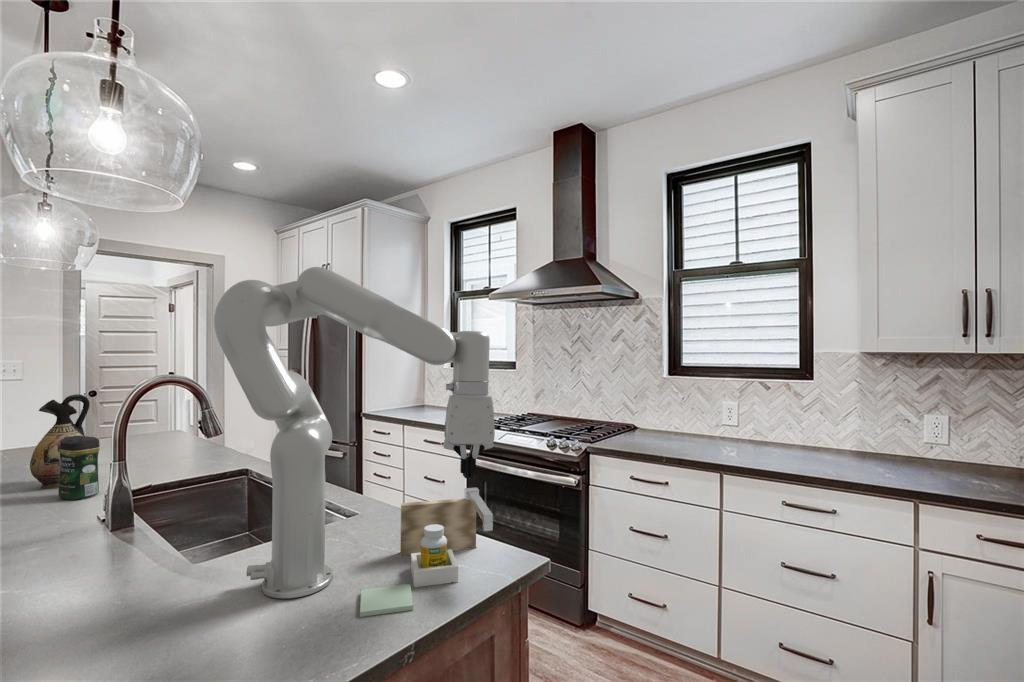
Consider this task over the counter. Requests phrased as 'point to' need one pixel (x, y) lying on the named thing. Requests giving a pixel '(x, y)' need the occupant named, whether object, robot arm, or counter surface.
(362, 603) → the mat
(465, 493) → the bar
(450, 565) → the hollow square frame
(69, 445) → the coffee jar
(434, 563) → the supplement bottle
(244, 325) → the robot arm
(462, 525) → the wooden block
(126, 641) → the counter surface
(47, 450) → the ceramic jug
